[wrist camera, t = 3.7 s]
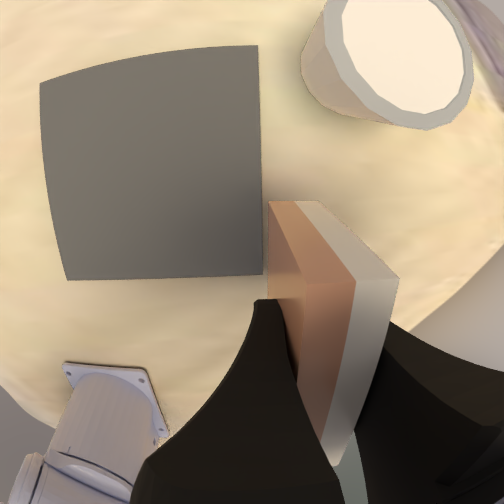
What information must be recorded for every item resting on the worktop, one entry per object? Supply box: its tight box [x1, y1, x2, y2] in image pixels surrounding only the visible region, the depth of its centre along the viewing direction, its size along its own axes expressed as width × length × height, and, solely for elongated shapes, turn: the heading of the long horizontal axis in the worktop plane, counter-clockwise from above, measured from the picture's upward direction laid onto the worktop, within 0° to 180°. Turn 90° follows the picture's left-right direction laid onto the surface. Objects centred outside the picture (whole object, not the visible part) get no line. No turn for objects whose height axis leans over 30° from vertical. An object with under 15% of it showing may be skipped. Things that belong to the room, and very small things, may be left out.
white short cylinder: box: [300, 0, 474, 131], centre depth 11 cm, size 7×7×7 cm
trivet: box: [40, 45, 263, 281], centre depth 16 cm, size 13×13×1 cm
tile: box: [268, 201, 400, 466], centre depth 9 cm, size 7×2×6 cm, turn 1°
